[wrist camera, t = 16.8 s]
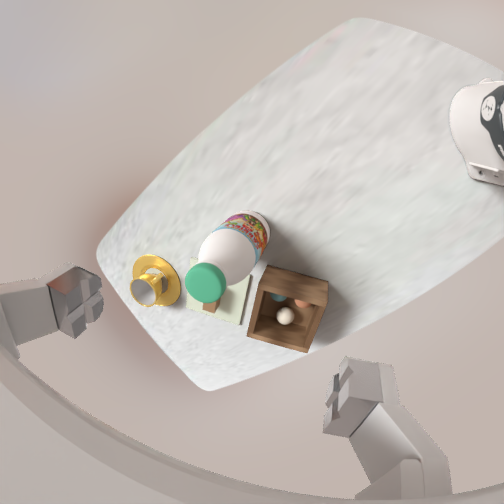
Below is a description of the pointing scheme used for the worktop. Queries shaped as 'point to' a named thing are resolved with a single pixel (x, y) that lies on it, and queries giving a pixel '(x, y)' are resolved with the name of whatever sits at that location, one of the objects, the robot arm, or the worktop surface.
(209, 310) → the lid
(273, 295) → the ball
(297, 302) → the ball
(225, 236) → the milk bottle
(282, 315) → the ball
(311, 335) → the box
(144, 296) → the cup
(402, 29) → the worktop surface
